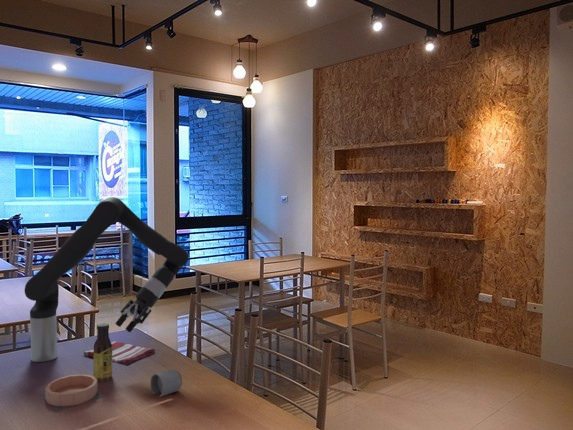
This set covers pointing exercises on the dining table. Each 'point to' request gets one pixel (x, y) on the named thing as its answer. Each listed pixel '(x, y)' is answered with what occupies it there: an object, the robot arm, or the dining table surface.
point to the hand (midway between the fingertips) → (122, 328)
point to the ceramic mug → (166, 382)
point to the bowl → (71, 390)
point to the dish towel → (125, 352)
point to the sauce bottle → (103, 354)
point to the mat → (71, 406)
